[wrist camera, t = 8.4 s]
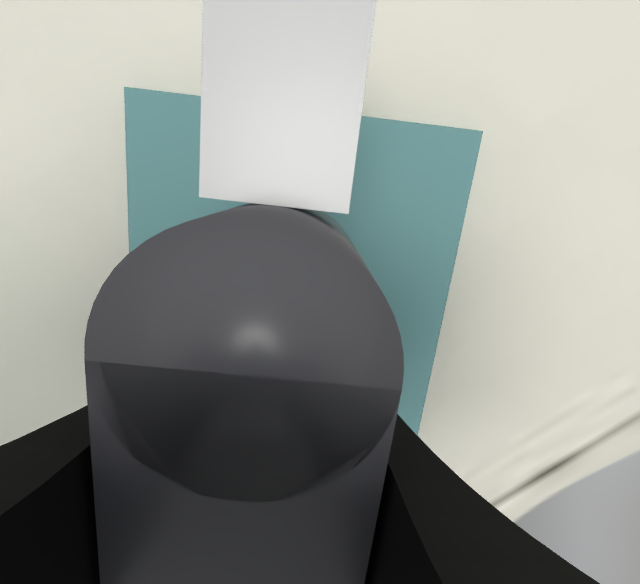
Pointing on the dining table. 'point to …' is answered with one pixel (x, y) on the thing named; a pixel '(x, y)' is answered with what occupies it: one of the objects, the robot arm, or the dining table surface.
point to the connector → (251, 330)
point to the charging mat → (360, 224)
